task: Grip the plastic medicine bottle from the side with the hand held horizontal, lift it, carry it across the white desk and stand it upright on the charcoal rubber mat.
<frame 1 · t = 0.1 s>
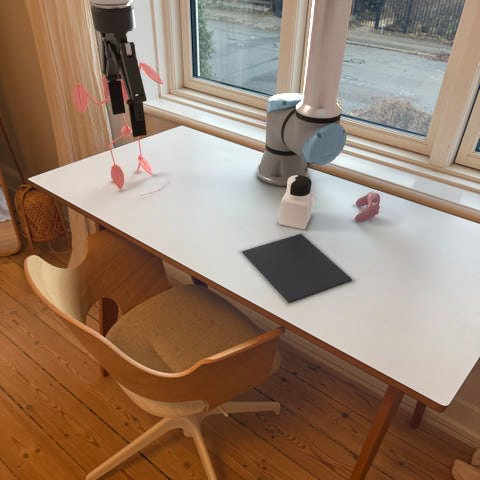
hand: (129, 124, 99), 28 cm above the table, tool pointing down, fingers open, 13 cm apart
mat: (295, 266, 110), on the table
medicine bottle: (295, 221, 125), on the table
video game controller: (365, 215, 128), on the table
figurine: (139, 185, 138), on the table
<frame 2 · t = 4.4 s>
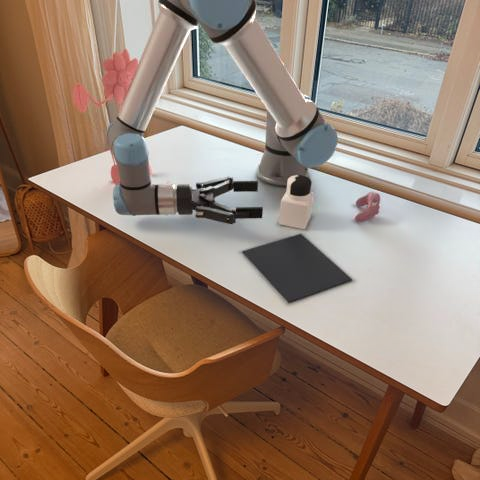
hand: (260, 198, 120), 7 cm above the table, tool horizontal, fingers open, 13 cm apart
nothing on the table moved.
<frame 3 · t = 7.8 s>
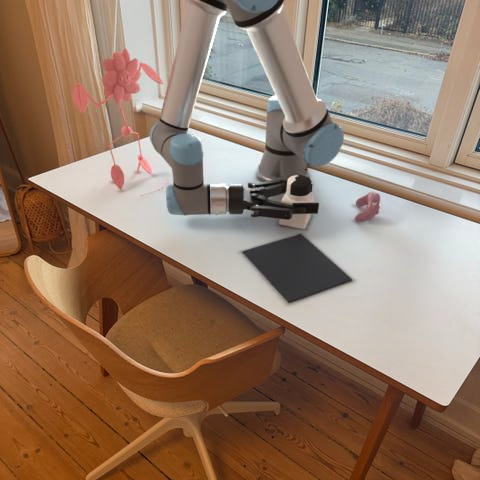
hand: (314, 198, 120), 7 cm above the table, tool horizontal, fingers closed on medicine bottle, 9 cm apart
medicine bottle: (294, 221, 125), on the table, touching gripper
everything else where it was.
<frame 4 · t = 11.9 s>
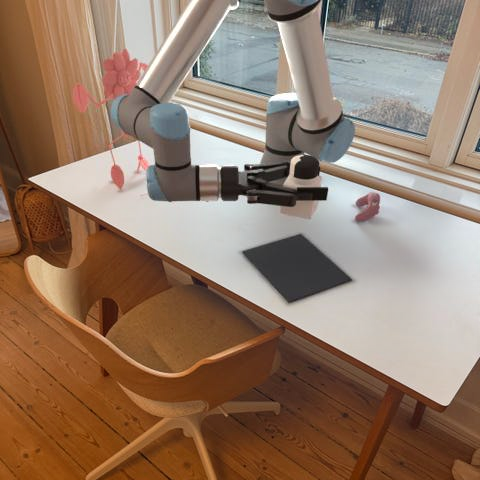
hand: (323, 182, 102), 18 cm above the table, tool horizontal, fingers closed on medicine bottle, 9 cm apart
medicine bottle: (299, 210, 106), point 11 cm above the table, touching gripper
everything else where it was.
when the fingers open (7 cm above the table, at t = 16.2 s): medicine bottle stays where it is, resting on mat.
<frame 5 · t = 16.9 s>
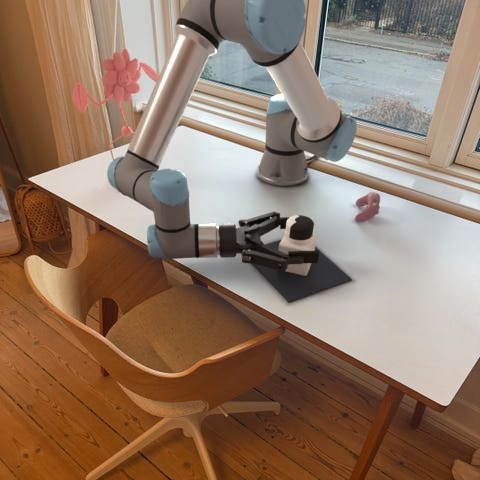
hand: (313, 239, 105), 7 cm above the table, tool horizontal, fingers open, 13 cm apart
medicine bottle: (295, 265, 110), resting on mat
everything else where it was.
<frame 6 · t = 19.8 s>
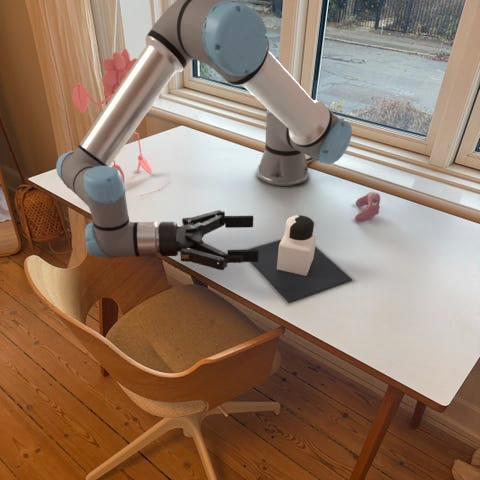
hand: (255, 237, 104), 8 cm above the table, tool horizontal, fingers open, 13 cm apart
nothing on the table moved.
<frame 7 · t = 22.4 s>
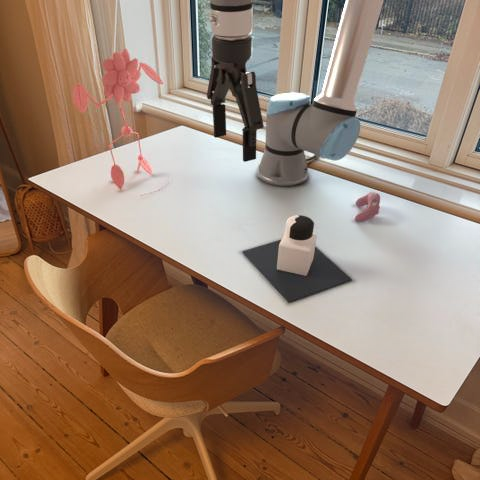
hand: (234, 147, 101), 24 cm above the table, tool pointing down, fingers open, 13 cm apart
nothing on the table moved.
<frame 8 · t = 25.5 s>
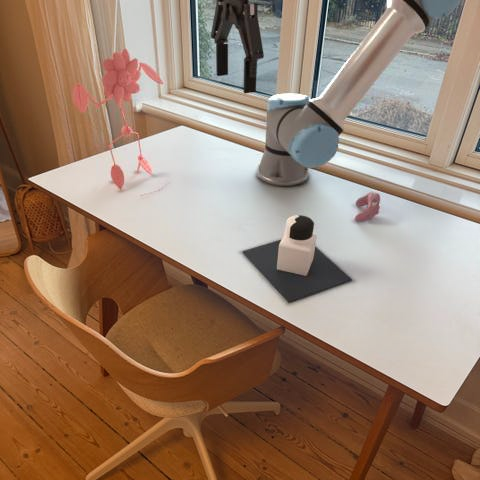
hand: (235, 83, 108), 32 cm above the table, tool pointing down, fingers open, 13 cm apart
nothing on the table moved.
at the end: medicine bottle inside the target area on the mat (0.1 cm from its centre), point 0.2 cm above the mat's base; medicine bottle tilted 0°; the gripper is holding nothing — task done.
